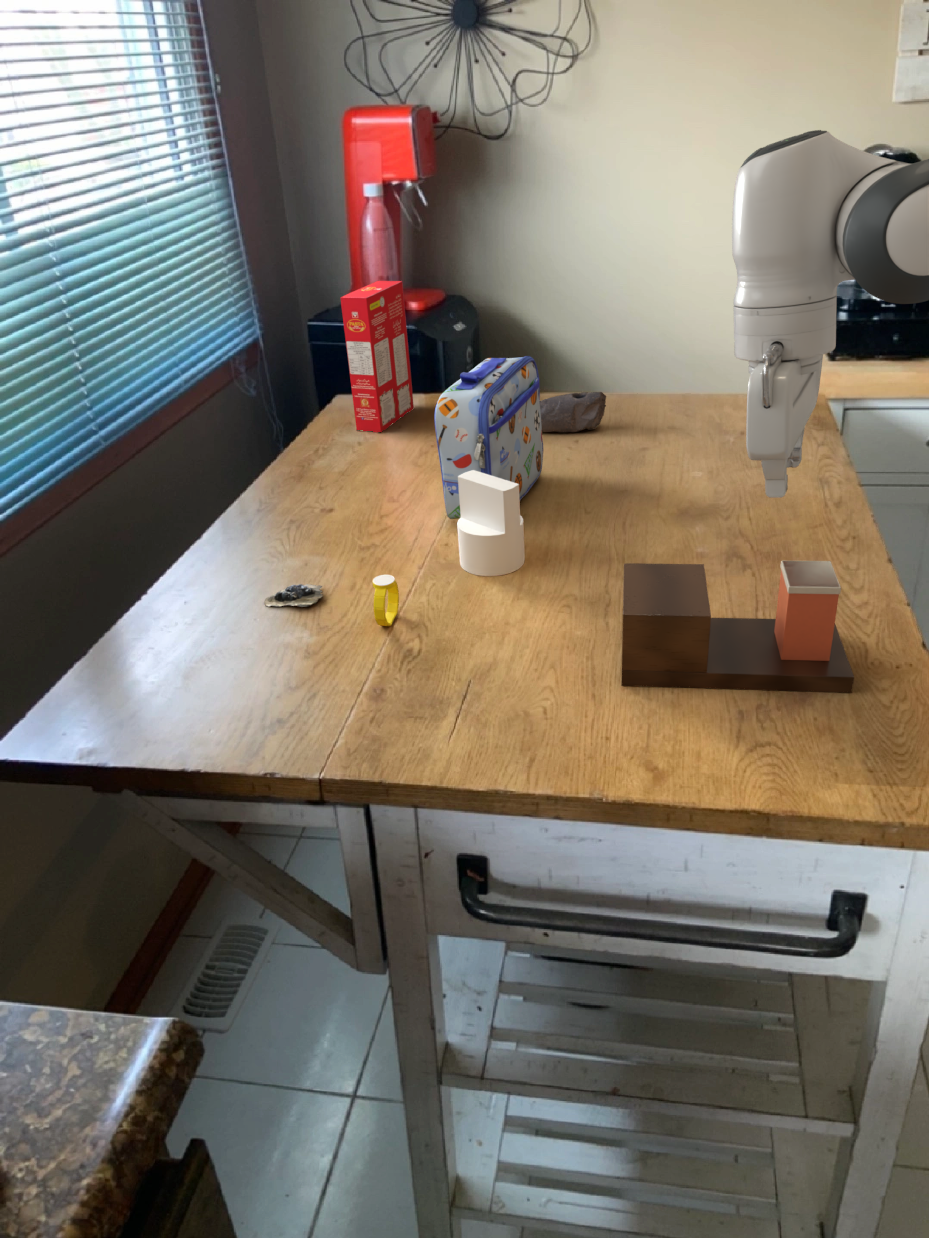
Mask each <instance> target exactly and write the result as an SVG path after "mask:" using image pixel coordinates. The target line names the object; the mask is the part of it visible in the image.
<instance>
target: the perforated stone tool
mask: <svg viewBox="0 0 929 1238" xmlns="http://www.w3.org/2000/svg"><path fill="white" fill-rule="evenodd" d="M606 399H607V396H606V394H604V392H602V391H591V392H590V391H589V392H587V391H583V392H582V391H581V392H572V393H566V394H560V395H555V396H551V397H547V398H544V399H540V412H541V426H542V433H551V432H555V433H577V432H580V431H583V430H587V431H591V430H596V429H597V427H598V426H599V425H600V424H601V421H602V419H603V417H604V414H605V408H606V407H607V405H606V401H607V400H606Z"/></svg>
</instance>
